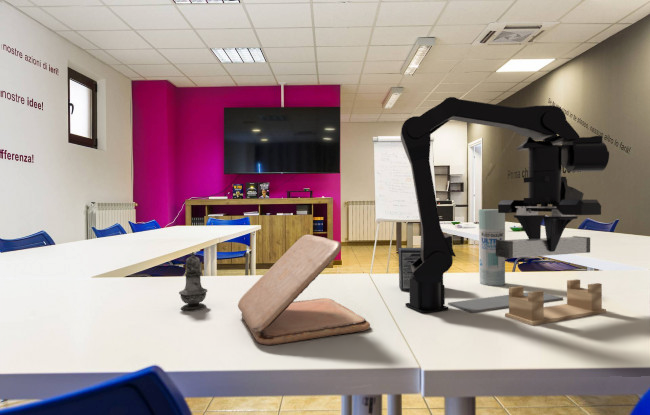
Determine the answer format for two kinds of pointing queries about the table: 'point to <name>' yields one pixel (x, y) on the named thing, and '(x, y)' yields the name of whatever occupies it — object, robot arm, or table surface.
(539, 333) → the table surface
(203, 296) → the salt shaker
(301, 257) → the case
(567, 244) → the rail
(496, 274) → the spray paint can
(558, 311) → the cradle stand
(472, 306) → the mat
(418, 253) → the small box
